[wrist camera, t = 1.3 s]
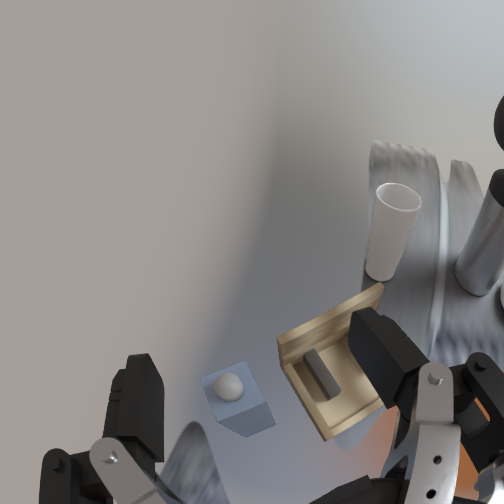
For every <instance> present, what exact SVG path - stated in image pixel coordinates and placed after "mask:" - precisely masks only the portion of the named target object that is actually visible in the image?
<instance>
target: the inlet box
mask: <svg viewBox="0 0 504 504" xmlns="http://www.w3.org/2000/svg"><path fill="white" fill-rule="evenodd" d="M384 288H385V287H384V285H383V284H382V283H381V282H378V283H376V284H375V285H373V286H371V287H370V288H368V289H366V290H365V291H363V292H361V293H359V294H358V295H356V296H354V297H353V298H351V299H349V300H347V301H345V302H344V303H342V304H340V305H338V306H337V307H335V308H333V309H331V310H329V311H327V312H326V313H324V314H322V315H320V316H318V317H316V318H314V319H312V320H310V321H308V322H306V323H305V324H302V325H301V326H299V327H296V328H295V329H292V330H290V331H288V332H286V333H284V334H282V335H280V336H278V337H277V343H278V352H279V358H280V366H281V368H282V370H283V372H284V374H285V375H286V377H287V379H288V381H289V382H290V384H291V386H292V388H293V389H294V391H295V393H296V395H297V396H298V398H299V400H300V402H301V403H302V405H303V407H304V408H305V410H306V412H307V413H308V415H309V417H310V419H311V420H312V422H313V424H314V425H315V427H316V429H317V430H318V432H319V434H320V435H321V437H322V438H323V440H324V441H327V440H329V439H331V438H332V437H334V436H336V435H338V434H339V433H341V432H343V431H344V430H346V429H348V428H349V427H351V426H353V425H354V424H356V423H357V422H359V421H360V420H362V419H363V418H365V417H366V416H368V415H369V414H371V413H372V412H374V411H375V410H377V409H378V408H380V407H381V406H382V405H384V403H383V402H382V400H381V399H380V397H379V395H378V394H377V392H376V391H375V389H374V387H373V386H372V384H371V383H370V381H369V380H368V378H367V376H366V375H365V373H364V372H363V370H362V369H361V367H360V365H359V364H358V362H357V361H356V359H355V358H354V356H353V355H352V353H351V351H350V349H349V346H348V334H349V327H350V320H351V314H352V312H353V311H356V310H359V309H363V308H366V307H372V308H373V309H374V310H376V308H377V306H378V303H379V301H380V298H381V296H382V293H383V291H384Z"/></svg>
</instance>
